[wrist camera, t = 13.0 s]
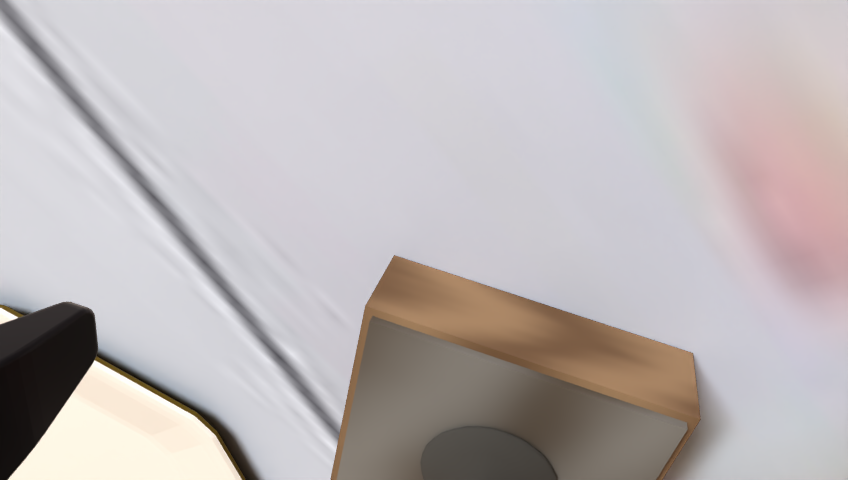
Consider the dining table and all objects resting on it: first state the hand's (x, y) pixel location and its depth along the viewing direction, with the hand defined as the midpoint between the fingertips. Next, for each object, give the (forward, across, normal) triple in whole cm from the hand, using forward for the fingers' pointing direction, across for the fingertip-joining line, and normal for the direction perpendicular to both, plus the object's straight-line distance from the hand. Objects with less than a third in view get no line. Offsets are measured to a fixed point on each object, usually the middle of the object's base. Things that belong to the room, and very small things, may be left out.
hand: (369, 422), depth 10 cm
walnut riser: (+13, -3, +12) cm, 18 cm away
